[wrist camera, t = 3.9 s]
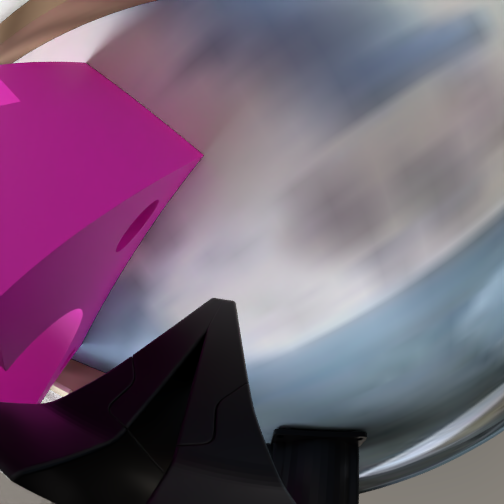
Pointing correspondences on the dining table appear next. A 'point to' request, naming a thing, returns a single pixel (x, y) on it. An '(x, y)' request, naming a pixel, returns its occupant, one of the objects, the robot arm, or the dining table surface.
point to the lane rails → (24, 41)
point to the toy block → (71, 209)
